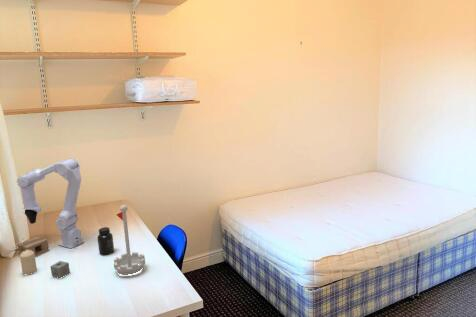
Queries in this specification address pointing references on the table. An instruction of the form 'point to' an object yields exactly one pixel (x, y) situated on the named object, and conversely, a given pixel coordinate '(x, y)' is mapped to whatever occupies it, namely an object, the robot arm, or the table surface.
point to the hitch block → (34, 246)
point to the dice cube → (60, 269)
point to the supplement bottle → (105, 241)
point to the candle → (28, 262)
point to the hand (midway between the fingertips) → (33, 222)
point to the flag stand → (128, 252)
